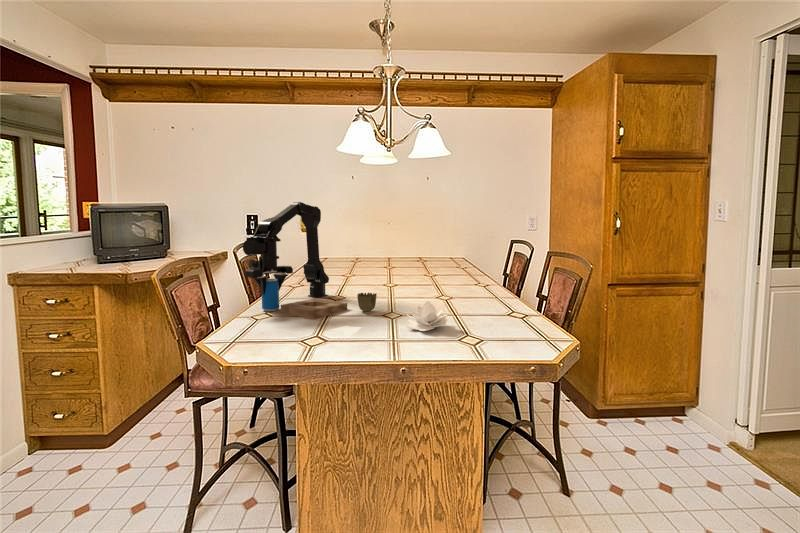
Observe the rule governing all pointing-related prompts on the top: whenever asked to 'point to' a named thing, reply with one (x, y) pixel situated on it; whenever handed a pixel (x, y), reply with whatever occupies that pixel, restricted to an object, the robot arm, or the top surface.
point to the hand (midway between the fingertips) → (270, 293)
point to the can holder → (313, 308)
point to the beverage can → (271, 295)
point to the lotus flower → (426, 318)
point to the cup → (366, 302)
